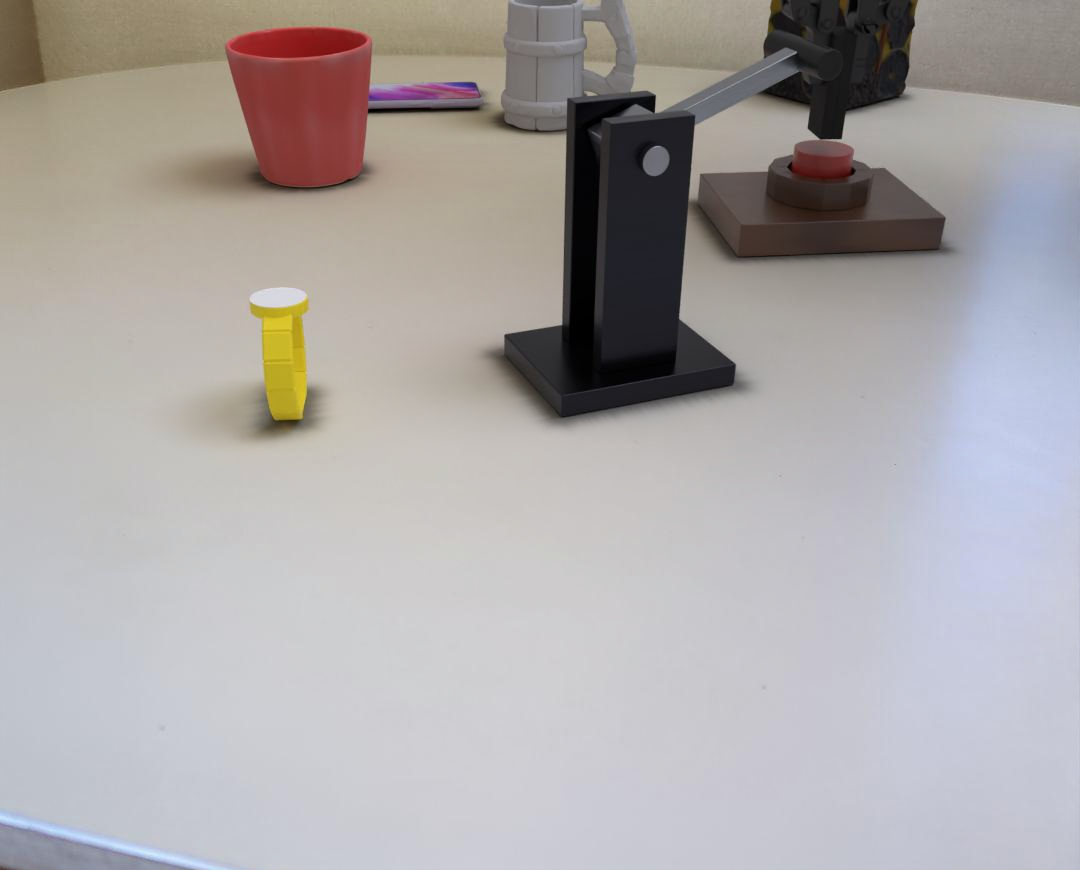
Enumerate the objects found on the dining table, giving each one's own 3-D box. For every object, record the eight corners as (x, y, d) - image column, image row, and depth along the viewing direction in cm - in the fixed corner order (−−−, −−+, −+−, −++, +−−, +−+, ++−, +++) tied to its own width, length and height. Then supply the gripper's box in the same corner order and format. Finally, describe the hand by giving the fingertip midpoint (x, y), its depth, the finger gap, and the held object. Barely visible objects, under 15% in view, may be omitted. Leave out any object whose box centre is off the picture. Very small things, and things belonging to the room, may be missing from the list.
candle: (823, 76, 122) (838, -33, 116) (907, 96, 115) (927, -18, 110) (756, 91, 116) (767, -22, 110) (840, 113, 110) (857, -6, 104)
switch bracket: (664, 326, 70) (682, 78, 62) (734, 384, 64) (764, 117, 56) (503, 353, 67) (501, 95, 59) (561, 417, 61) (568, 138, 53)
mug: (508, 107, 110) (508, -37, 104) (637, 113, 109) (645, -32, 102) (493, 129, 104) (491, -23, 97) (629, 137, 103) (637, -17, 96)
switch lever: (790, 60, 62) (782, 15, 61) (846, 82, 59) (839, 34, 57) (588, 165, 61) (575, 121, 60) (632, 194, 57) (619, 148, 56)
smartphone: (317, 84, 113) (476, 81, 115) (318, 94, 113) (477, 90, 115) (315, 102, 107) (483, 98, 109) (316, 112, 107) (484, 108, 109)
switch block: (880, 196, 90) (889, 142, 88) (940, 249, 81) (952, 190, 79) (697, 203, 88) (701, 147, 86) (737, 257, 79) (743, 197, 77)
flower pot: (214, 186, 90) (194, 49, 85) (282, 147, 99) (268, 20, 94) (343, 201, 88) (332, 61, 82) (401, 160, 96) (395, 30, 91)
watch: (315, 436, 59) (302, 322, 55) (257, 438, 58) (241, 323, 55) (322, 380, 64) (311, 273, 60) (269, 382, 63) (255, 274, 60)
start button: (838, 164, 85) (842, 139, 84) (858, 181, 81) (862, 155, 80) (783, 166, 84) (786, 140, 83) (801, 183, 81) (805, 157, 80)
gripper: (794, -295, 64) (745, 152, 77) (1025, -290, 66) (938, 147, 79) (755, -294, 70) (715, 120, 83) (967, -289, 72) (895, 117, 85)
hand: (824, 133), depth 81 cm, fingers closed
